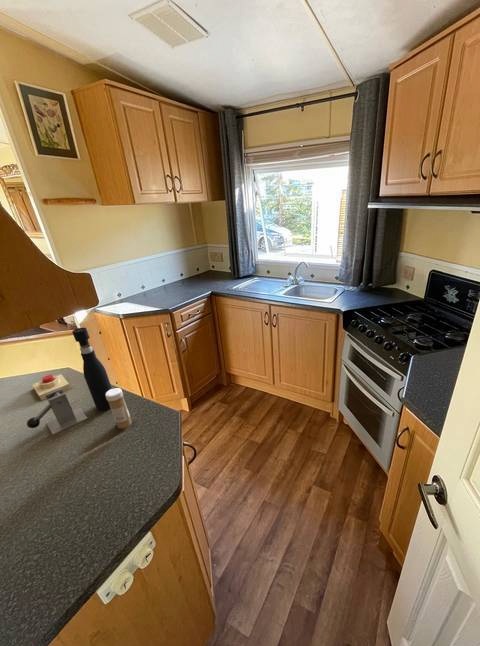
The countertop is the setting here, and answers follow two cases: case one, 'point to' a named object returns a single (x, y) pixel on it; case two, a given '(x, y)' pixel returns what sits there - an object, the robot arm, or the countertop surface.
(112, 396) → the sprinkles bottle
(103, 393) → the dark water bottle
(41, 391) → the control block
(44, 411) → the lever handle
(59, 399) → the grey lever stand
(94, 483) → the countertop surface
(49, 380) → the button
